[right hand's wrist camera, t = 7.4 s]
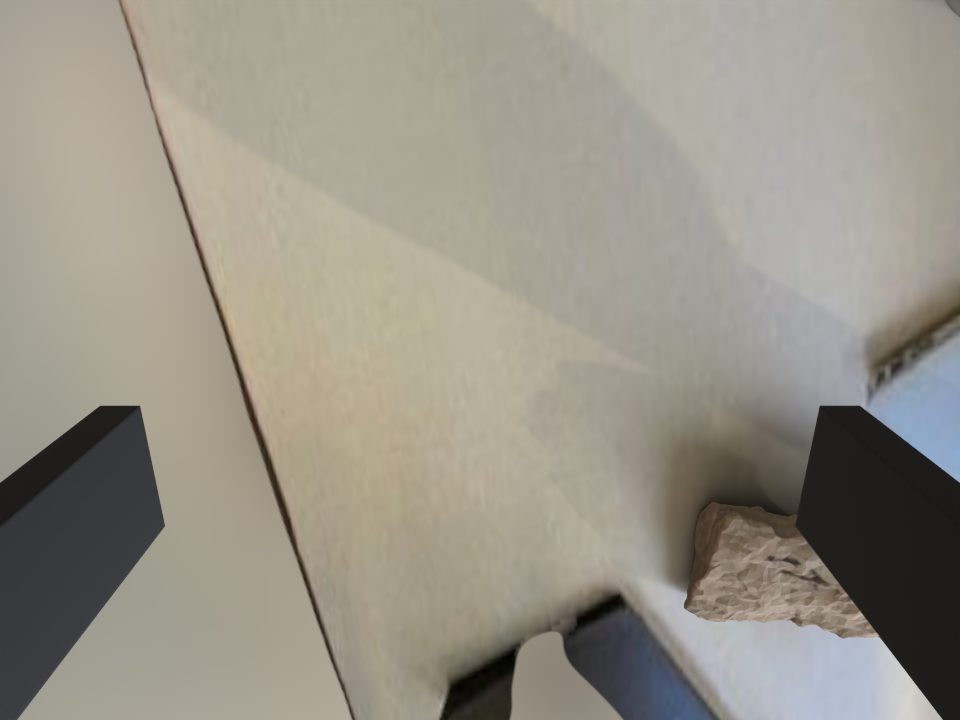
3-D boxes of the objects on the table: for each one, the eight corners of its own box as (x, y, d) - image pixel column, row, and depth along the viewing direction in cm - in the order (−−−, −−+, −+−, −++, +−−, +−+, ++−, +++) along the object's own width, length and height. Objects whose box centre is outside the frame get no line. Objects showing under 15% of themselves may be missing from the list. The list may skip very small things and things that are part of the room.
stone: (954, 502, 57) (986, 557, 52) (890, 606, 65) (913, 662, 60) (706, 470, 59) (714, 519, 54) (676, 574, 68) (681, 624, 63)
